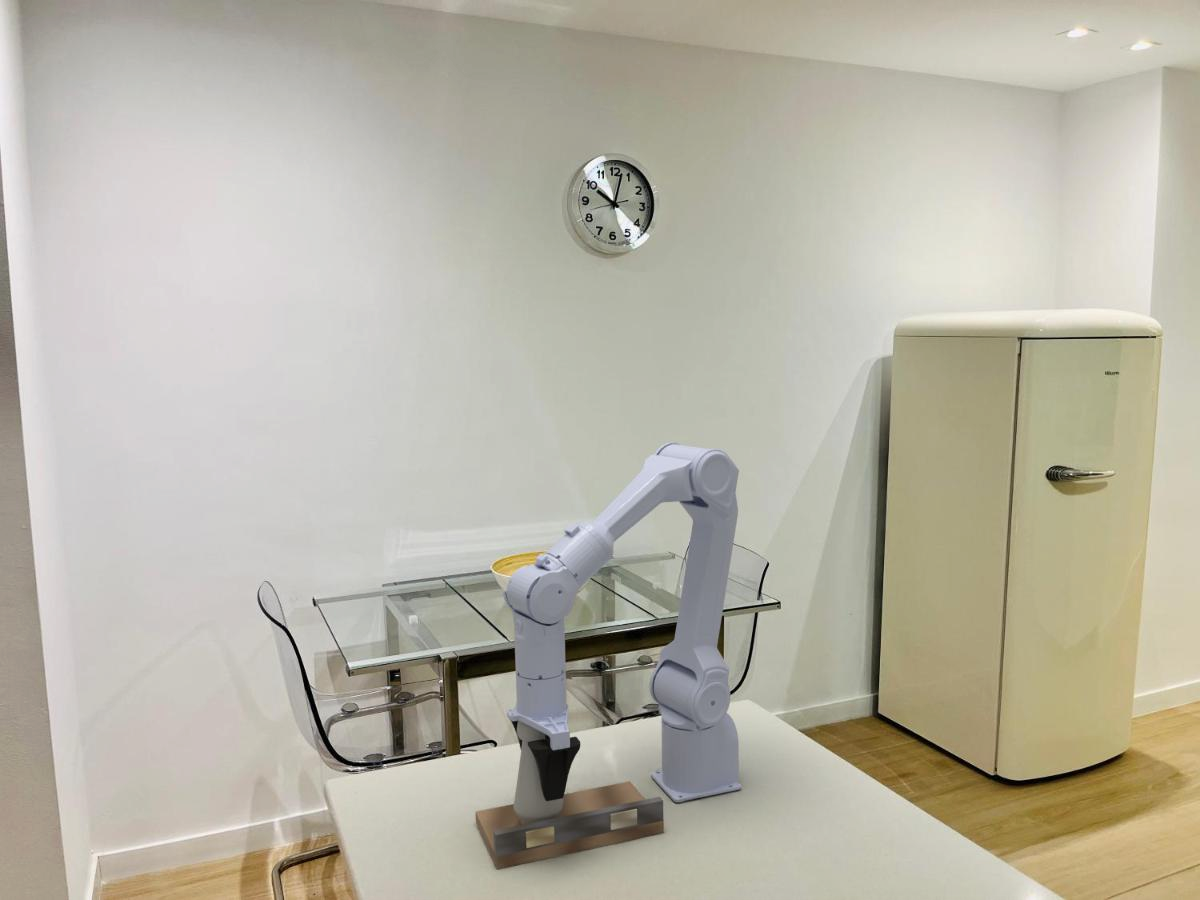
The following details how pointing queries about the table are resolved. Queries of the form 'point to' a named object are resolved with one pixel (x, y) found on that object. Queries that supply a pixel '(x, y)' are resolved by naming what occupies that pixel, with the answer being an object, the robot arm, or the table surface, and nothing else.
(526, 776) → the salt shaker
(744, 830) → the table surface
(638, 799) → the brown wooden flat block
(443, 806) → the table surface
